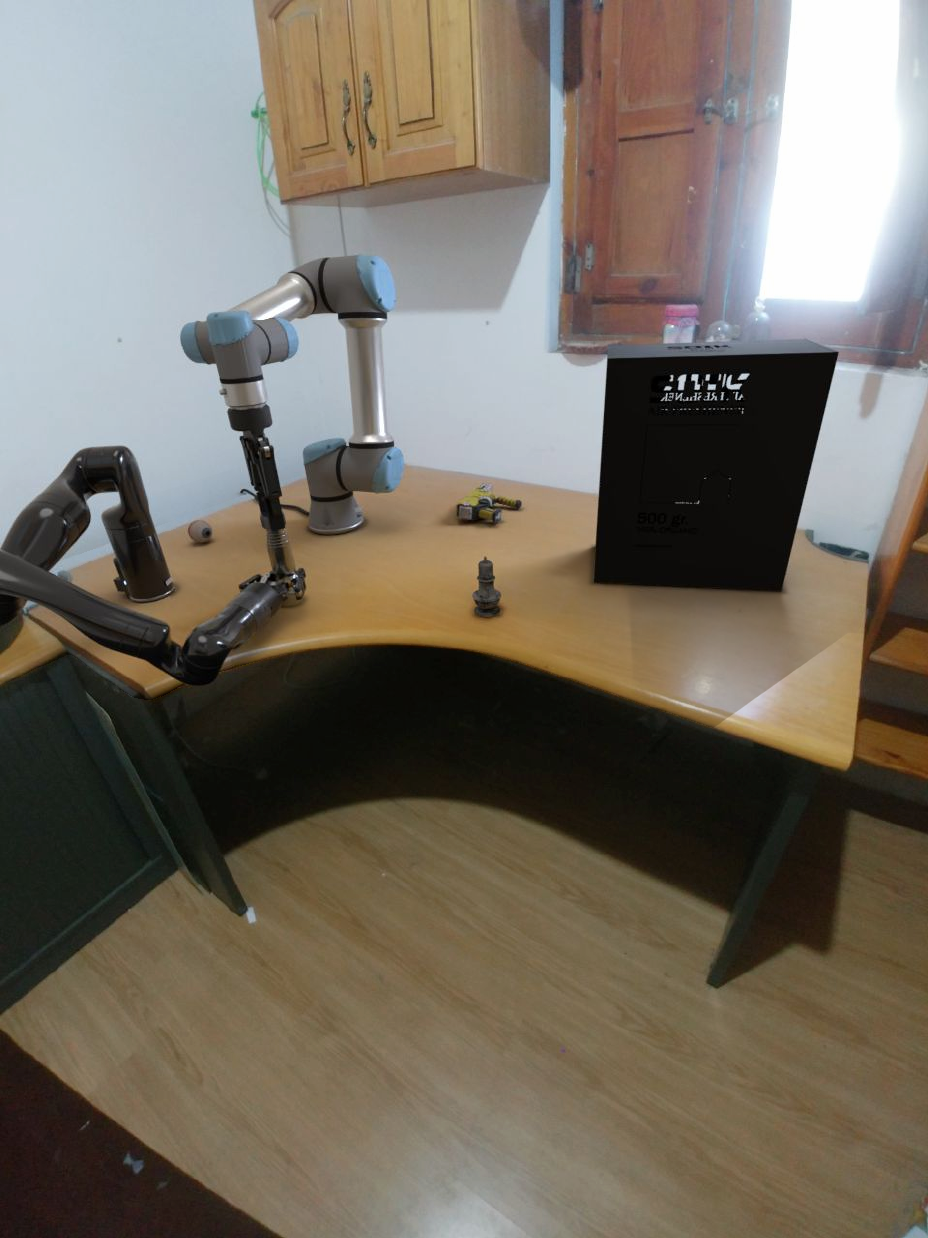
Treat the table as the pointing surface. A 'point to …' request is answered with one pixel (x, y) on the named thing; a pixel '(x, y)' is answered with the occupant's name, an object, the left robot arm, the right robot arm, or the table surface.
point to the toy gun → (483, 505)
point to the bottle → (281, 559)
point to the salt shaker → (486, 591)
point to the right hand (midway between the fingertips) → (274, 525)
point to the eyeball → (200, 531)
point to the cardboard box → (707, 461)
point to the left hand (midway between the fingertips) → (291, 571)
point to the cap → (267, 520)
